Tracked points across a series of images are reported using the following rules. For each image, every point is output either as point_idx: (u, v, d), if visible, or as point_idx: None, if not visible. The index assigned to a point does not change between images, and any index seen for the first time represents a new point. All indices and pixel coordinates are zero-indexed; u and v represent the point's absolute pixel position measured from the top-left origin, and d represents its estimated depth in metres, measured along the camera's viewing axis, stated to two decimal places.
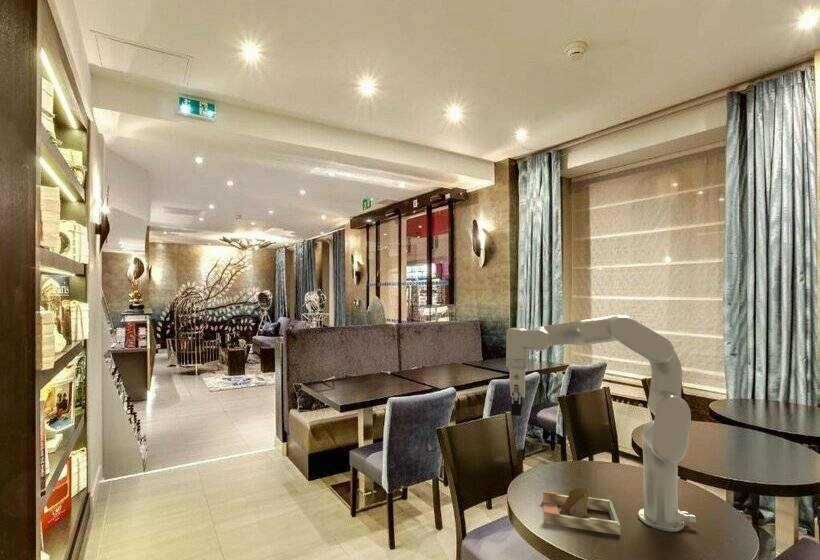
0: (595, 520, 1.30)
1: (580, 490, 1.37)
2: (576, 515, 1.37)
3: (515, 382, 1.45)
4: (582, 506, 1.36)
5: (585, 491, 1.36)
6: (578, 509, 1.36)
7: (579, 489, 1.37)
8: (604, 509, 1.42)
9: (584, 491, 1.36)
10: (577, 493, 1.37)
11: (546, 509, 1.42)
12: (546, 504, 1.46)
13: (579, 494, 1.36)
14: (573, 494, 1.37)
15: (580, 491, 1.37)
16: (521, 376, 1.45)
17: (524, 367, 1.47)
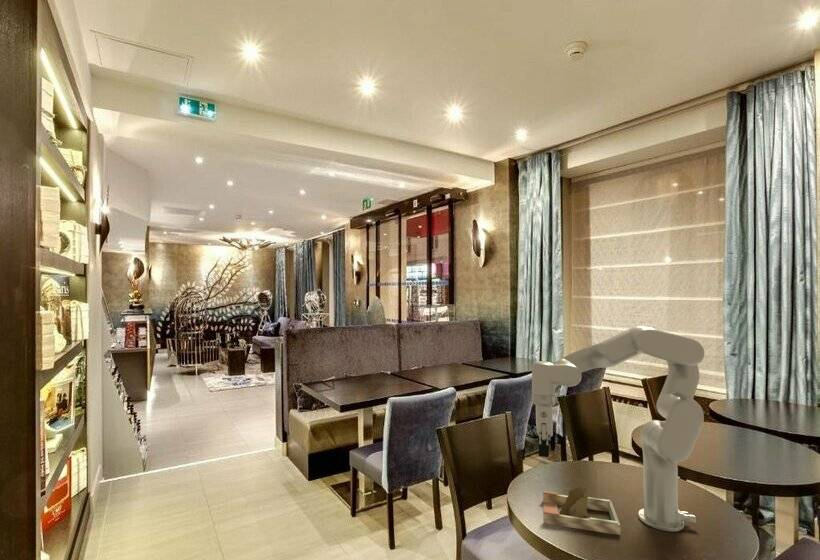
0: (595, 520, 1.30)
1: (580, 490, 1.37)
2: (576, 515, 1.37)
3: (542, 420, 1.37)
4: (581, 506, 1.37)
5: (585, 490, 1.36)
6: (578, 509, 1.37)
7: (579, 489, 1.37)
8: (604, 509, 1.42)
9: (584, 490, 1.37)
10: (576, 492, 1.37)
11: (546, 509, 1.42)
12: (546, 504, 1.46)
13: (578, 494, 1.36)
14: (573, 494, 1.37)
15: (580, 491, 1.37)
16: (549, 414, 1.37)
17: (552, 404, 1.39)
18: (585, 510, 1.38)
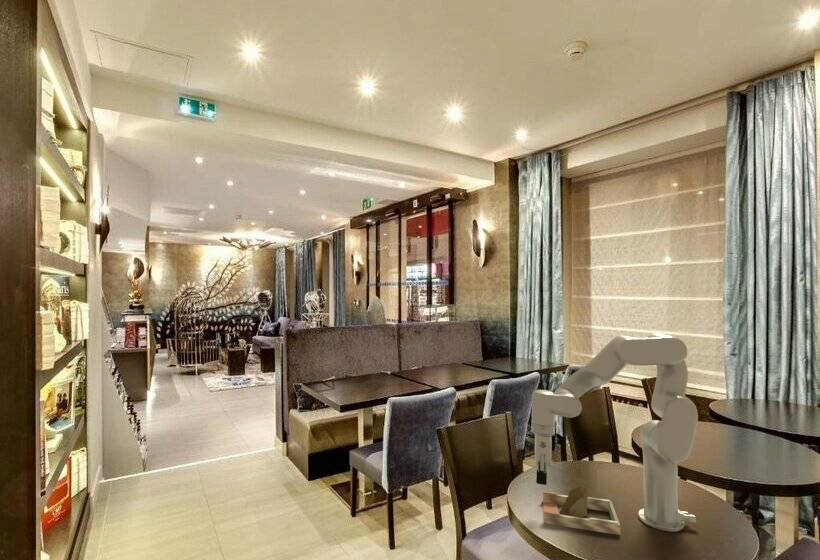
0: (595, 520, 1.30)
1: (580, 490, 1.37)
2: (576, 515, 1.37)
3: (541, 450, 1.37)
4: (581, 506, 1.37)
5: (585, 490, 1.36)
6: (578, 509, 1.37)
7: (579, 489, 1.37)
8: (604, 509, 1.42)
9: (584, 490, 1.37)
10: (576, 492, 1.37)
11: (546, 509, 1.42)
12: (546, 504, 1.46)
13: (578, 494, 1.36)
14: (573, 494, 1.37)
15: (580, 491, 1.37)
16: (548, 444, 1.37)
17: (551, 434, 1.39)
18: (585, 510, 1.38)
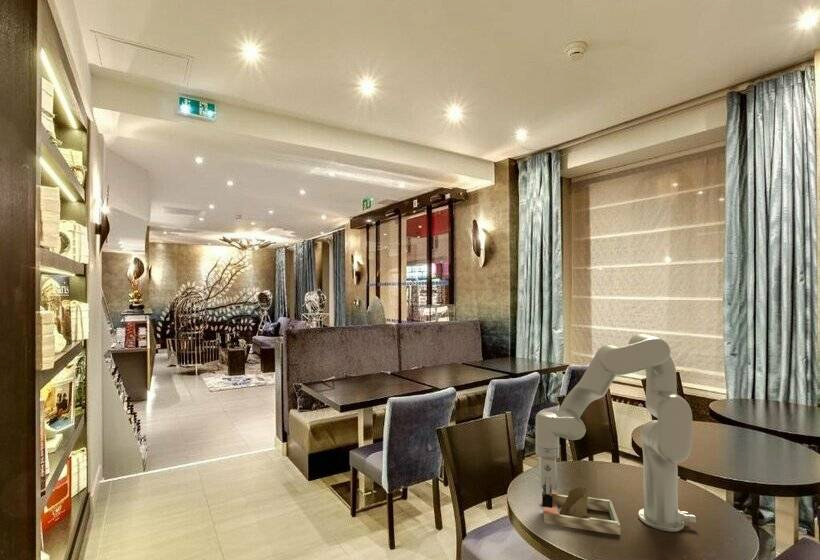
0: (595, 520, 1.30)
1: (580, 490, 1.37)
2: (576, 515, 1.37)
3: (546, 474, 1.37)
4: (581, 506, 1.37)
5: (585, 490, 1.36)
6: (578, 509, 1.37)
7: (579, 489, 1.37)
8: (604, 509, 1.42)
9: (584, 490, 1.37)
10: (576, 492, 1.37)
11: (546, 509, 1.42)
12: None
13: (578, 494, 1.36)
14: (573, 494, 1.37)
15: (580, 491, 1.37)
16: (553, 468, 1.36)
17: (555, 457, 1.38)
18: (585, 510, 1.38)
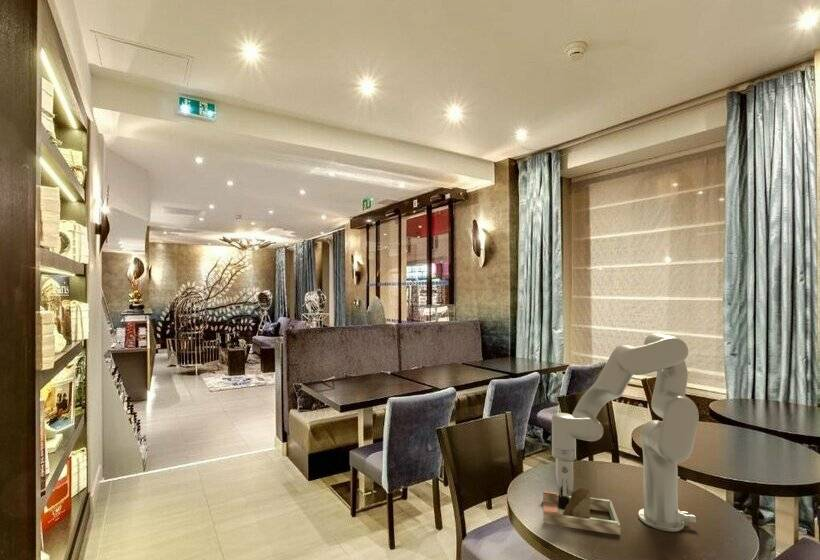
0: (595, 520, 1.30)
1: (582, 491, 1.36)
2: (579, 516, 1.36)
3: (563, 476, 1.35)
4: (584, 507, 1.36)
5: (587, 491, 1.36)
6: (581, 510, 1.36)
7: (581, 490, 1.37)
8: (604, 509, 1.42)
9: (586, 492, 1.36)
10: (579, 493, 1.36)
11: (546, 509, 1.42)
12: (546, 504, 1.46)
13: (581, 495, 1.36)
14: (576, 495, 1.36)
15: (582, 492, 1.36)
16: (570, 469, 1.35)
17: (572, 458, 1.37)
18: (588, 511, 1.37)
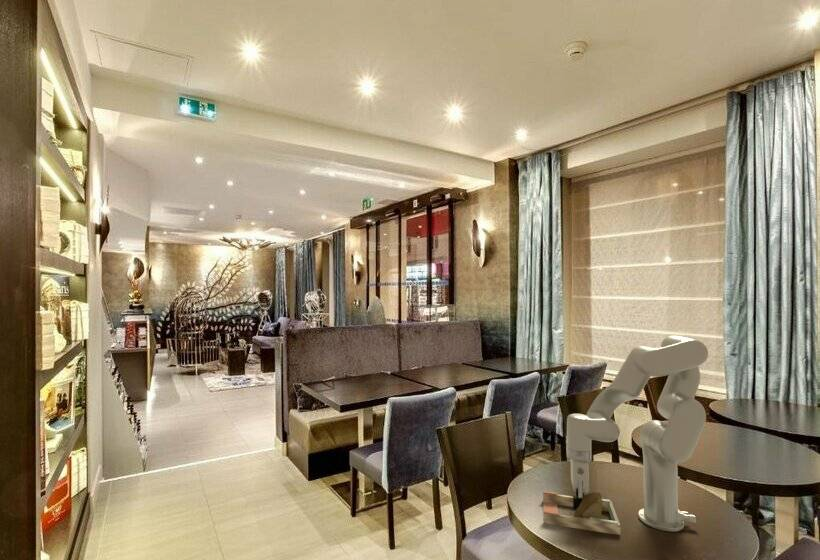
0: (595, 520, 1.30)
1: (594, 495, 1.34)
2: None
3: (579, 477, 1.34)
4: (596, 511, 1.33)
5: (599, 496, 1.33)
6: (592, 514, 1.33)
7: (593, 494, 1.34)
8: (604, 509, 1.42)
9: (598, 496, 1.33)
10: (590, 497, 1.34)
11: (546, 509, 1.42)
12: (546, 504, 1.46)
13: (592, 499, 1.33)
14: (587, 499, 1.34)
15: (594, 496, 1.34)
16: (586, 471, 1.34)
17: (588, 460, 1.35)
18: (600, 516, 1.34)
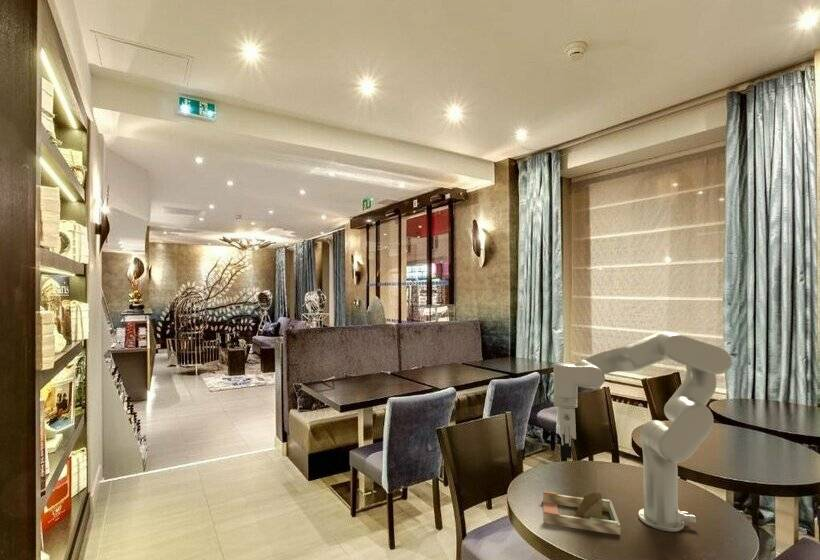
0: (595, 520, 1.30)
1: (594, 495, 1.34)
2: None
3: (565, 423, 1.35)
4: (596, 512, 1.33)
5: (599, 496, 1.33)
6: (593, 515, 1.33)
7: (593, 494, 1.34)
8: (604, 509, 1.42)
9: (598, 496, 1.33)
10: (591, 498, 1.34)
11: (546, 509, 1.42)
12: (546, 504, 1.46)
13: (593, 499, 1.33)
14: (587, 499, 1.34)
15: (594, 496, 1.34)
16: (572, 416, 1.35)
17: (574, 406, 1.37)
18: (600, 516, 1.34)
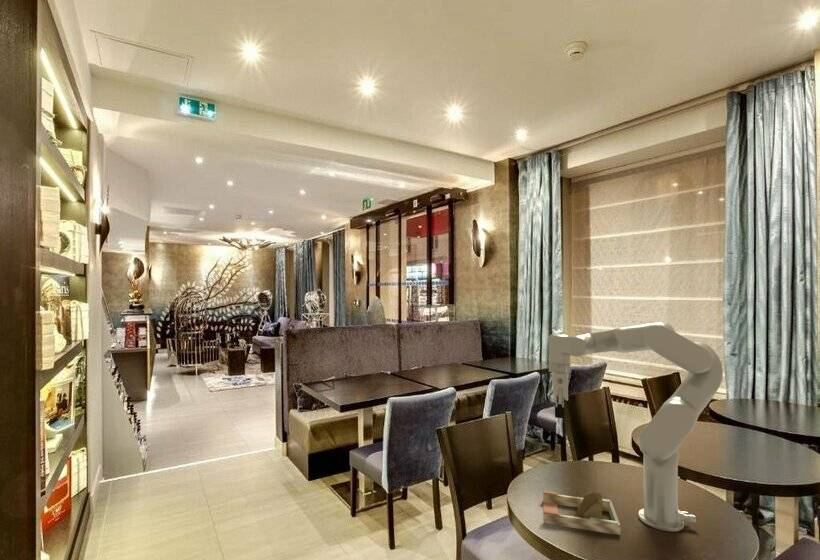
0: (595, 520, 1.30)
1: (594, 495, 1.34)
2: None
3: (559, 386, 1.52)
4: (596, 512, 1.33)
5: (599, 496, 1.33)
6: (593, 515, 1.33)
7: (593, 494, 1.34)
8: (604, 509, 1.42)
9: (598, 496, 1.33)
10: (591, 498, 1.34)
11: (546, 509, 1.42)
12: (546, 504, 1.46)
13: (593, 499, 1.33)
14: (587, 499, 1.34)
15: (594, 496, 1.34)
16: (565, 380, 1.52)
17: (567, 371, 1.54)
18: (601, 516, 1.34)
